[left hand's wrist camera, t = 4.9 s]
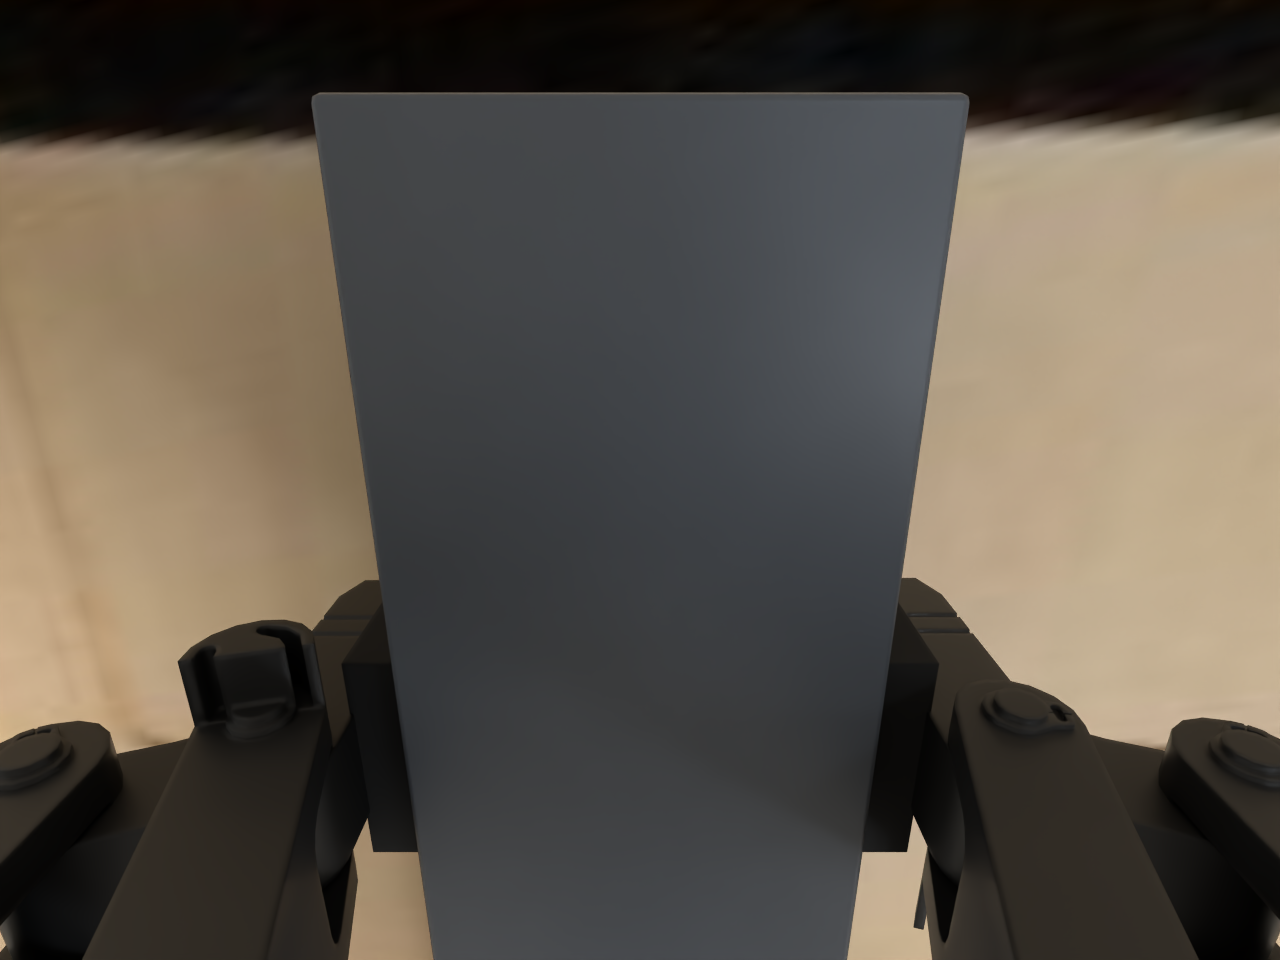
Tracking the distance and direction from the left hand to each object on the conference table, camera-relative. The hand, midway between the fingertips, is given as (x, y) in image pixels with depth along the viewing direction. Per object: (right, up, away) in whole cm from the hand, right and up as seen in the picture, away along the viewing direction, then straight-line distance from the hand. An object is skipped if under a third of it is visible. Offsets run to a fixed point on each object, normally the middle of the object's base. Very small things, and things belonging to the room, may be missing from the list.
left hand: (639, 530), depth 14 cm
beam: (0, -18, +7) cm, 19 cm away
